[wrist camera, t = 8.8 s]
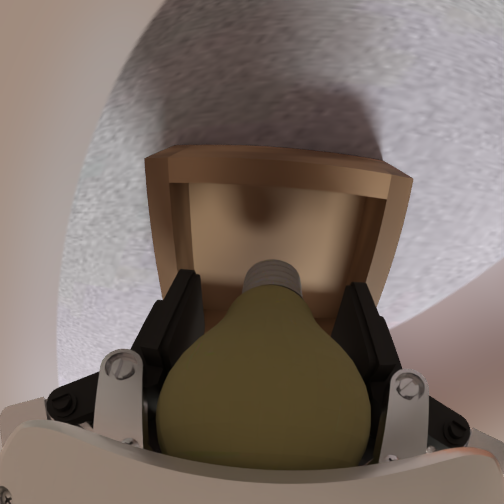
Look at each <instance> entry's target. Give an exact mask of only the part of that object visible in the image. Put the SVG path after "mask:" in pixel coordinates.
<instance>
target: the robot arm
mask: <svg viewBox="0 0 504 504" xmlns="http://www.w3.org/2000/svg"><path fill="white" fill-rule="evenodd" d="M204 331H205V321H204V311H203V301H202V290H201V278H200V275H199V274H196V272H195V270H188V269H180V270H179V271H178V273H177V275H176V277H175V279H174V281H173V282H172V284H171V286H170V288H169V290H168V292H167V294H166V296H165V298H164V299H163V300H157V301H156V302H155V304H154V305H153V307H152V309H151V311H150V313H149V315H148V317H147V318H146V320H145V322H144V324H143V326H142V328H141V330H140V332H139V334H138V336H137V337H136V339H135V341H134V343H133V345H132V347H131V349H118V350H115V351H112V352H110V353H109V354H108V355H106V356H105V358H104V359H103V360H102V363H101V366H100V371H99V372H97V373H94V374H92V375H89V376H87V377H84V378H82V379H79V380H77V381H74V382H72V383H69V384H66V385H64V386H61V387H59V388H57V389H55V390H54V391H53V392H52V393H51V394H50V395H49V397H48V399H45V398H44V397H41V398H37V399H34V400H30V401H27V402H23V403H19V404H15V405H11V406H8V407H6V408H5V409H4V410H3V411H2V413H1V415H0V431H1V439H2V447H3V449H2V450H1V452H0V504H504V477H503V474H504V443H503V442H502V441H500V440H498V439H495V438H493V437H491V436H489V435H487V434H485V433H483V432H481V431H479V430H477V429H475V428H472V429H471V430H470V427H469V424H468V422H467V421H466V419H465V418H463V417H462V416H461V415H459V414H458V413H456V412H454V411H453V410H451V409H450V408H448V407H446V406H445V405H443V404H442V403H440V402H438V401H437V400H435V399H434V398H432V397H431V396H429V388H428V383H427V381H426V379H425V378H424V377H423V376H422V375H421V374H420V373H419V372H417V371H415V370H412V369H402V366H401V363H400V361H399V358H398V354H397V352H396V349H395V346H394V343H393V340H392V337H391V335H390V332H389V329H388V327H387V324H386V321H385V319H384V318H383V317H382V316H379V313H378V311H377V308H376V306H375V303H374V300H373V298H372V295H371V293H370V290H369V288H368V286H367V284H366V283H365V282H351V284H350V285H347V286H346V287H345V290H344V294H343V297H342V301H341V304H340V307H339V311H338V314H337V317H336V321H335V324H334V327H333V330H332V333H331V338H332V339H333V340H334V341H336V342H337V343H338V344H339V345H340V346H341V347H342V349H343V350H344V351H345V352H346V353H347V355H348V356H349V357H350V358H351V359H352V361H353V362H354V364H355V366H356V368H357V370H358V372H359V373H360V375H361V377H362V379H363V381H364V383H365V385H366V389H367V393H368V397H369V401H370V405H371V427H370V435H369V439H368V443H367V447H366V450H365V452H364V454H363V456H362V458H361V460H360V462H359V464H358V466H357V467H350V468H339V469H326V470H262V469H248V468H238V467H229V466H221V465H214V464H208V463H202V462H196V461H191V460H186V459H181V458H177V457H172V456H168V455H164V454H162V452H161V449H160V446H159V443H158V436H157V428H156V409H157V402H158V398H159V395H160V392H161V389H162V387H163V384H164V382H165V380H166V377H167V376H168V374H169V372H170V370H171V369H172V367H173V366H174V365H175V363H176V362H177V361H178V359H179V358H180V357H181V355H182V354H183V353H184V352H185V351H186V350H187V349H188V348H189V347H190V346H191V345H192V344H193V343H194V342H195V341H196V340H197V339H199V338H200V337H201V336H202V335H204Z"/></svg>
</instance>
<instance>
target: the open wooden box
mask: <svg viewBox="0 0 504 504" xmlns="http://www.w3.org/2000/svg"><path fill="white" fill-rule="evenodd" d="M144 159H145V173H146V185H147V196H148V206H149V215H150V223H151V231H152V238H153V245H154V252H155V258H156V264H157V270H158V276H159V282H160V287H161V292H162V297H163V299H164V298H165V296H166V294H167V292H168V290H169V288H170V286H171V284H172V282H173V281H174V279H175V277H176V275H177V273H178V271H179V270H180V269H188V270H195V272H196V274H199V275H200V278H201V290H202V301H203V311H204V321H205V331H204V334H205V333H206V332H208V331H209V330H210V329H212V328H213V327H214V326H216V325H217V324H218V323H219V322H220V321H221V320H222V319H223V318H224V317H225V315H226V313H227V311H228V310H229V308H230V306H231V304H232V303H233V302H234V301H235V300H236V299H237V297H239V296H240V295H241V294H242V289H243V284H244V279H245V276H246V273H247V271H248V270H249V269H250V268H251V267H252V266H253V265H254V264H256V263H258V262H260V261H263V260H269V259H276V260H281V261H285V262H287V263H289V264H290V265H292V266H293V267H294V268H295V269H296V270H297V272H298V273H299V276H300V279H301V286H302V287H301V290H302V296H303V299H304V301H305V302H306V303H307V305H308V306H309V308H310V310H311V312H312V315H313V317H314V319H315V321H316V322H317V324H318V325H319V326H320V327H321V328H322V329H323V330H324V331H325V332H326V333H327V334H328V335H329V336H330V337H331V333H332V330H333V327H334V324H335V321H336V317H337V314H338V311H339V307H340V304H341V301H342V297H343V294H344V290H345V287H346V286H347V285H350V284H351V282H365V283H366V284H367V286H368V288H369V290H370V293H371V295H372V298H373V300H374V303H375V306H376V307H377V305H378V302H379V299H380V297H381V294H382V291H383V288H384V285H385V283H386V280H387V277H388V274H389V271H390V268H391V264H392V261H393V258H394V255H395V252H396V248H397V245H398V241H399V238H400V234H401V230H402V227H403V223H404V219H405V215H406V211H407V207H408V202H409V198H410V193H411V188H412V184H413V178H411V177H410V176H408V175H406V174H405V173H403V172H402V171H400V170H398V169H397V168H395V167H393V166H392V165H390V164H388V163H386V162H385V161H382V160H377V159H371V158H365V157H359V156H352V155H346V154H339V153H331V152H323V151H314V150H305V149H294V148H282V147H268V146H249V145H174V146H172V147H169V148H167V149H165V150H162V151H160V152H158V153H155V154H153V155H151V156H149V157H146V158H144Z"/></svg>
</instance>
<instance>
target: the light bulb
mask: <svg viewBox="0 0 504 504" xmlns="http://www.w3.org/2000/svg"><path fill="white" fill-rule="evenodd" d="M301 287H302V286H301V279H300V276H299V273H298V272H297V270H296V269H295V268H294V267H293V266H292V265H290V264H289V263H287V262H285V261H281V260H276V259H269V260H263V261H260V262H258V263H256V264H254V265H253V266H252V267H251V268H250V269H249V270H248V271H247V273H246V276H245V279H244V284H243V289H242V294H241V295H240V296H239V297H237V299H236V300H235V301H234V302H233V303H232V304H231V306H230V308H229V310H228V311H227V313H226V315H225V317H224V318H223V319H222V320H221V321H220V322H219V323H218V324H217V325H216V326H214V327H213V328H212V329H210V330H209V331H208V332H206V333H205V334H204V335H202V336H201V337H200V338H199V339H197V340H196V341H195V342H194V343H193V344H192V345H191V346H190V347H189V348H188V349H187V350H186V351H185V352H184V353H183V354H182V355H181V357H180V358H179V359H178V361H177V362H176V363H175V365H174V366H173V367H172V369H171V370H170V372H169V374H168V376H167V377H166V380H165V382H164V384H163V387H162V389H161V392H160V395H159V398H158V402H157V409H156V428H157V436H158V443H159V446H160V449H161V452H162V454H164V455H168V456H172V457H177V458H181V459H186V460H191V461H196V462H202V463H208V464H214V465H221V466H229V467H238V468H248V469H262V470H326V469H339V468H350V467H357V466H358V464H359V462H360V460H361V458H362V456H363V454H364V452H365V450H366V447H367V443H368V439H369V435H370V427H371V405H370V401H369V397H368V393H367V389H366V385H365V383H364V381H363V379H362V377H361V375H360V373H359V372H358V370H357V368H356V366H355V364H354V362H353V361H352V359H351V358H350V357H349V356H348V355H347V353H346V352H345V351H344V350H343V349H342V347H341V346H340V345H339V344H338V343H337V342H336V341H334V340H333V339H332V338H331V337H330V336H329V335H328V334H327V333H326V332H325V331H324V330H323V329H322V328H321V327H320V326H319V325H318V324H317V322H316V321H315V319H314V317H313V315H312V312H311V310H310V308H309V306H308V305H307V303H306V302H305V301H304V299H303V296H302V290H301Z"/></svg>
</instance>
